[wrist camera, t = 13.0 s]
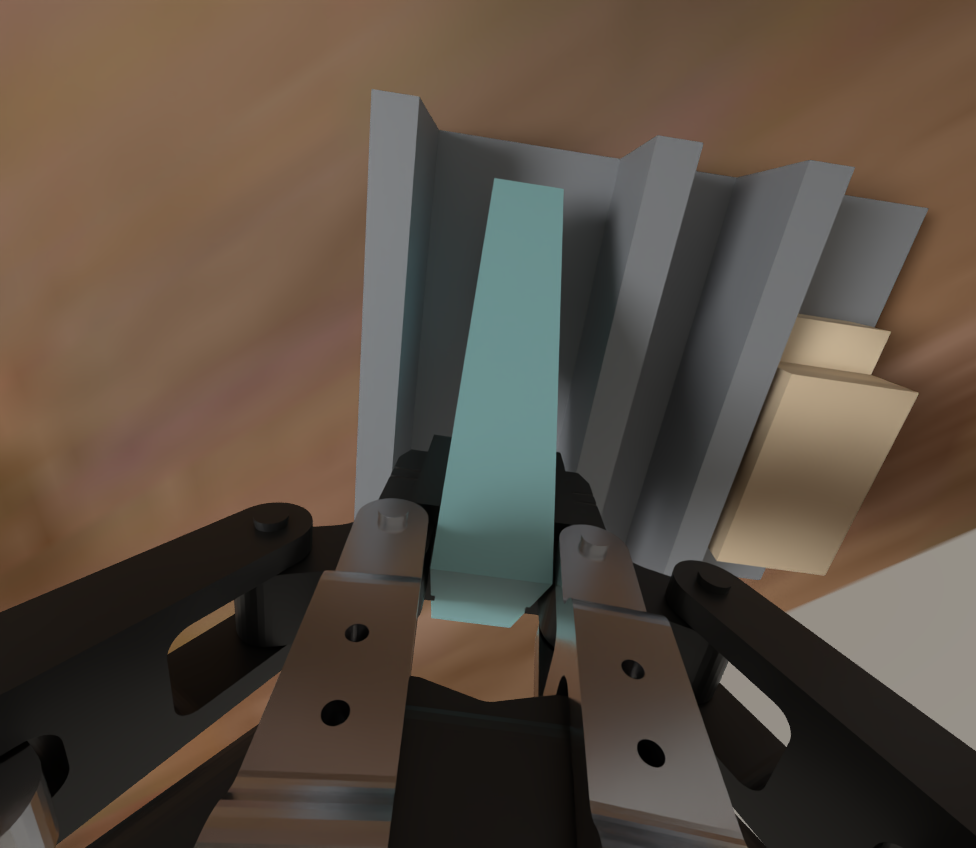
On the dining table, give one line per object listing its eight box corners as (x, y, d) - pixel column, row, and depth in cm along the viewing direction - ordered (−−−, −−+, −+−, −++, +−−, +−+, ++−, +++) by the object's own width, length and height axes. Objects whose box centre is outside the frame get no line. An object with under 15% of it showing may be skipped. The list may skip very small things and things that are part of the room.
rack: (397, 131, 17) (351, 85, 12) (894, 210, 17) (1057, 200, 12) (374, 509, 23) (338, 588, 18) (744, 559, 23) (812, 650, 18)
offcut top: (757, 357, 16) (791, 374, 14) (870, 374, 16) (919, 392, 14) (695, 528, 19) (716, 561, 17) (792, 541, 19) (825, 575, 17)
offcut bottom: (745, 305, 17) (774, 313, 15) (849, 321, 17) (891, 331, 16) (680, 492, 20) (699, 517, 18) (770, 504, 20) (797, 531, 19)
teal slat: (494, 177, 13) (430, 568, 8) (563, 188, 13) (552, 584, 8) (479, 306, 18) (431, 617, 12) (532, 313, 18) (509, 627, 12)
